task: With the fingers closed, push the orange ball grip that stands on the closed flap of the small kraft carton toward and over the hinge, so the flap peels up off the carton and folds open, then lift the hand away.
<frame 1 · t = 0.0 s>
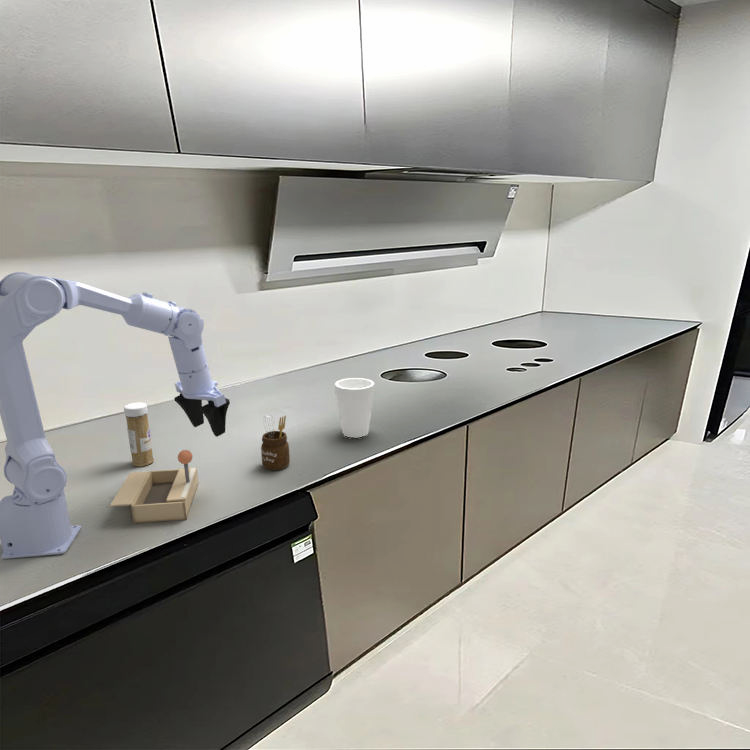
hand: (209, 429, 112), 11 cm above the worktop, tool pointing down, fingers open, 7 cm apart
flap: (182, 467, 104), point 7 cm above the worktop, hinge at 0.0°
foam cup: (355, 434, 137), on the worktop
utensil holder: (276, 466, 120), on the worktop
carton: (168, 502, 105), on the worktop
sprinkles bottle: (143, 463, 122), on the worktop
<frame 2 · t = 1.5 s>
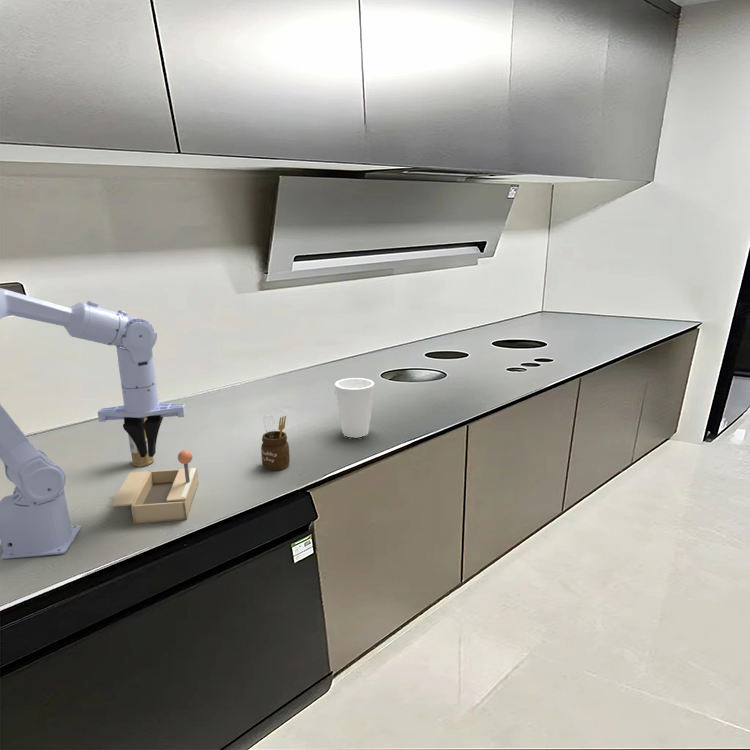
hand: (148, 454, 102), 10 cm above the worktop, tool pointing down, fingers closed
nothing on the worktop moved.
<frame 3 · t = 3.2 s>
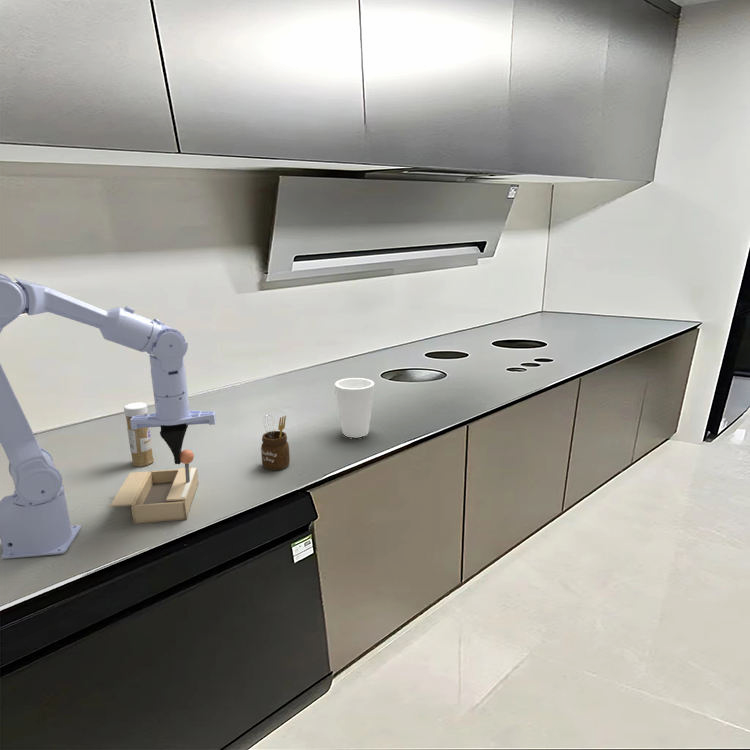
hand: (178, 461, 103), 8 cm above the worktop, tool pointing down, fingers closed, pressing on flap
flap: (183, 467, 104), point 7 cm above the worktop, hinge at 2.6°, touching gripper
everything else where it was.
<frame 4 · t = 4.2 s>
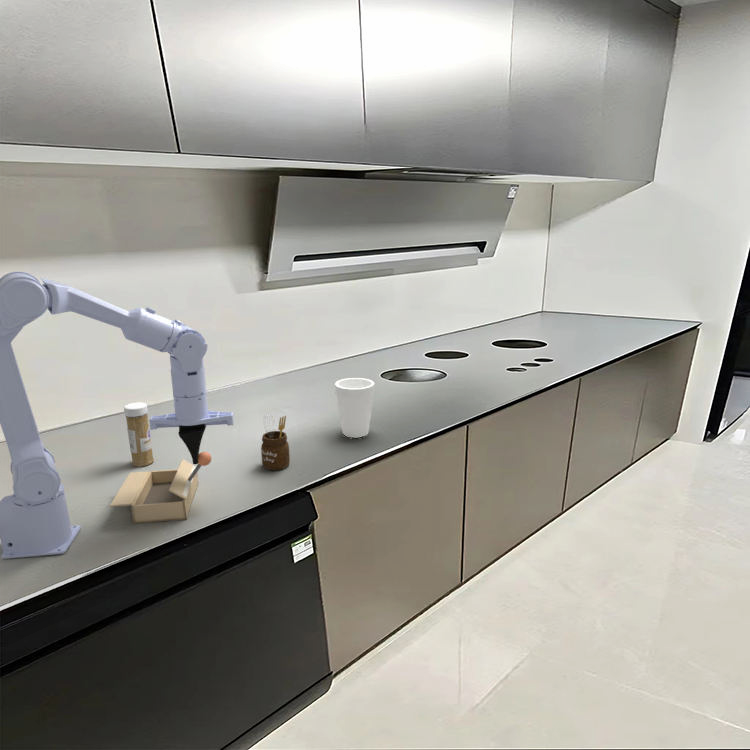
hand: (196, 462, 104), 8 cm above the worktop, tool pointing down, fingers closed, pressing on flap
flap: (194, 465, 104), point 7 cm above the worktop, hinge at 37.1°, touching gripper
everything else where it was.
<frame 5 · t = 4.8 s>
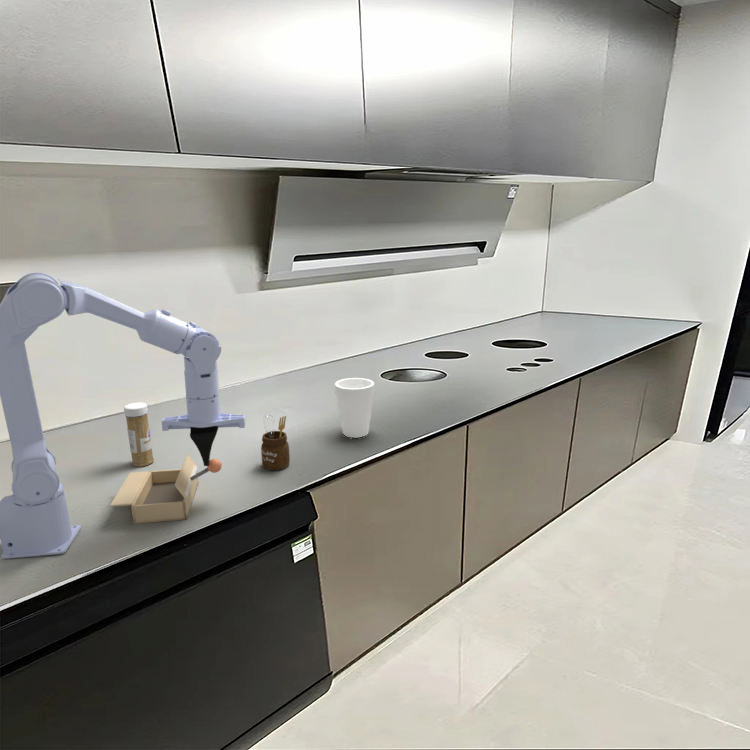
hand: (207, 463, 104), 7 cm above the worktop, tool pointing down, fingers closed, pressing on flap
flap: (202, 468, 104), point 6 cm above the worktop, hinge at 62.0°, touching gripper
everything else where it was.
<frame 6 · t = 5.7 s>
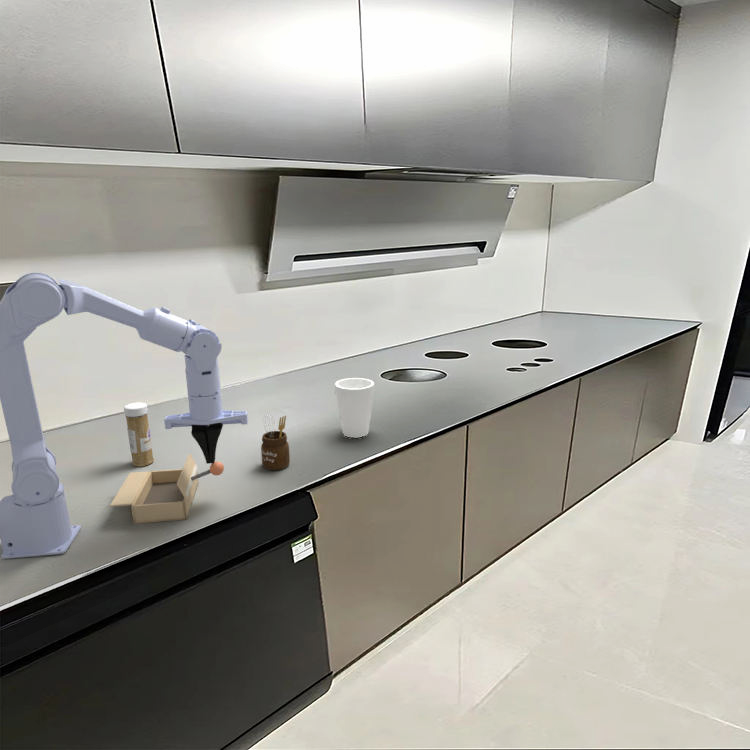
hand: (210, 461, 104), 8 cm above the worktop, tool pointing down, fingers closed
flap: (204, 469, 105), point 6 cm above the worktop, hinge at 69.4°
everything else where it was.
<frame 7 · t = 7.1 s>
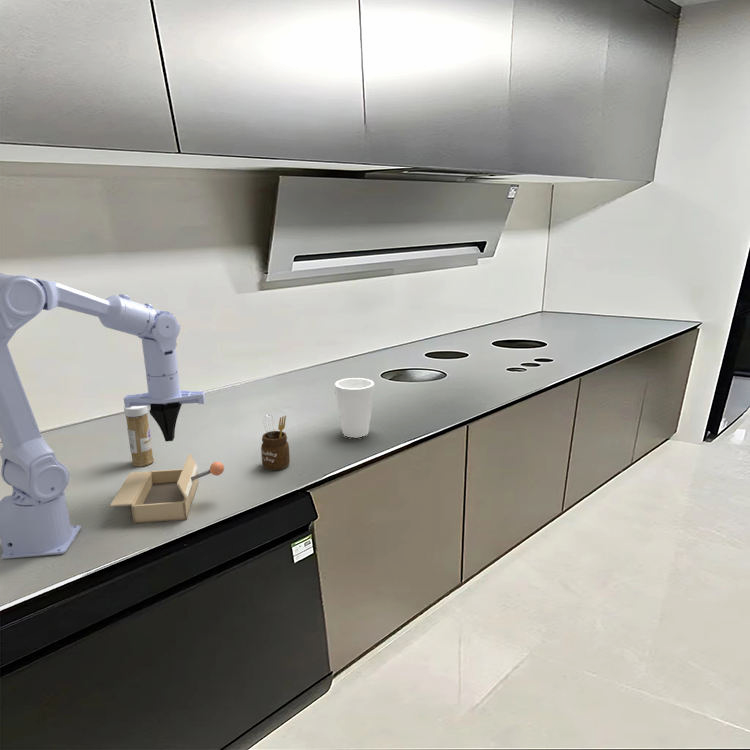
hand: (169, 439, 109), 10 cm above the worktop, tool pointing down, fingers closed
nothing on the worktop moved.
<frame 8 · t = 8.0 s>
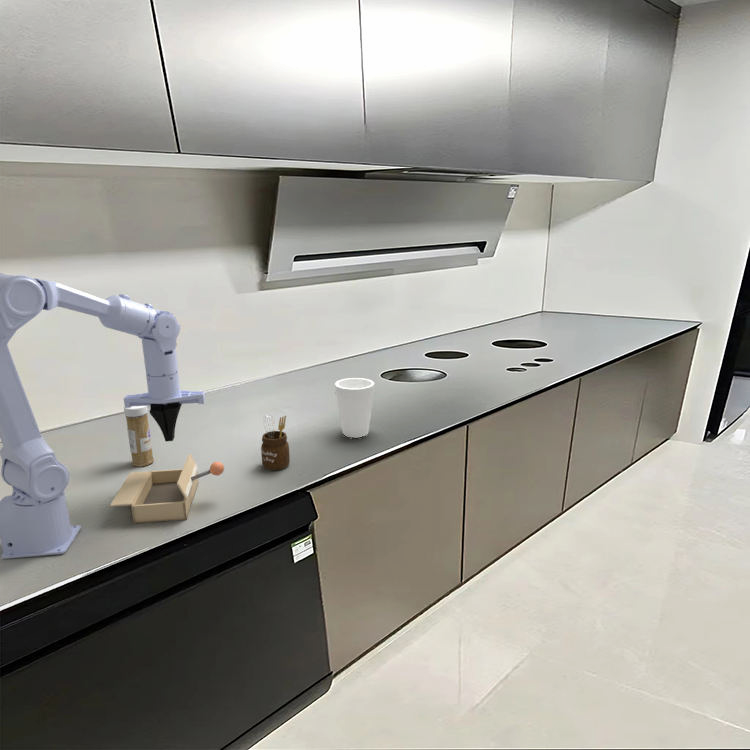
hand: (169, 439, 109), 10 cm above the worktop, tool pointing down, fingers closed
nothing on the worktop moved.
at the end: flap at +70° (first picture: +0°); the gripper is holding nothing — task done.
